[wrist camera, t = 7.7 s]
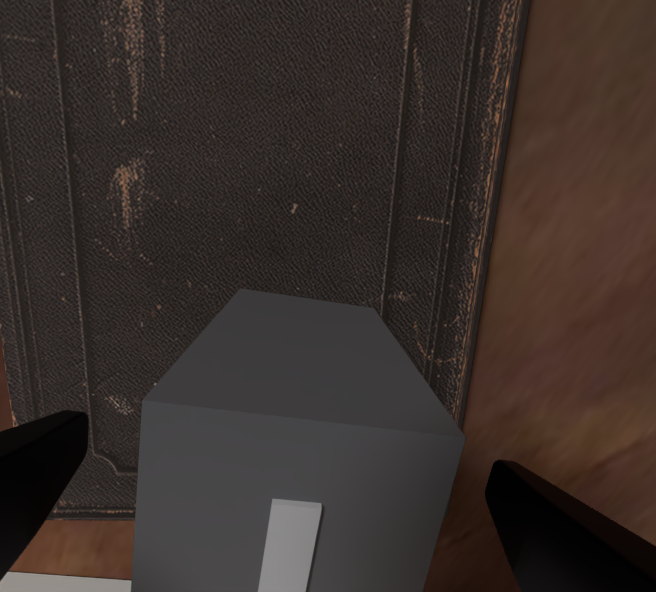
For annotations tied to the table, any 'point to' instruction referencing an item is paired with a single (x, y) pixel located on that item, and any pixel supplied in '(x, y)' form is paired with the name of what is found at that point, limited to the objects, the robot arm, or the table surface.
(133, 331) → the hardcover book
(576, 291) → the table surface
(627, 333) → the table surface
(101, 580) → the power strip
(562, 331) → the table surface
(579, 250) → the table surface
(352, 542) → the block
